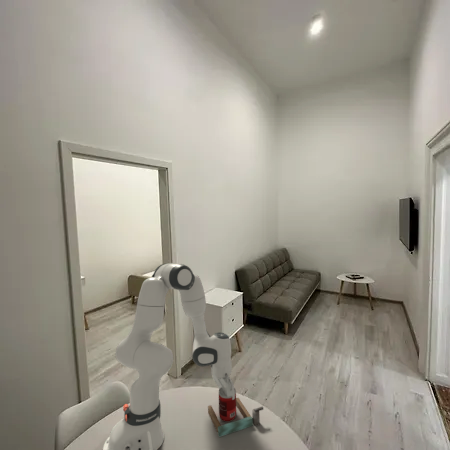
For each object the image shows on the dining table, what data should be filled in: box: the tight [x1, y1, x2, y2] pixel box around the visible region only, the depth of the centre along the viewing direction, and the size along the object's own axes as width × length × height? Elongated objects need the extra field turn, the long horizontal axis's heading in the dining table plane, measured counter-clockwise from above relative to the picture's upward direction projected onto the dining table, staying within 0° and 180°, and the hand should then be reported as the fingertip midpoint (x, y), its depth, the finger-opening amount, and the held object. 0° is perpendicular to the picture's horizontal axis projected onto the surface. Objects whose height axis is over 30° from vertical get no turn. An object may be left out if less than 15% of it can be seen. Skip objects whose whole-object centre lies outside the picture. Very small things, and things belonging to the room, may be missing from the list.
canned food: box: [218, 387, 237, 423], centre depth 114 cm, size 8×8×11 cm
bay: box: [207, 397, 264, 438], centre depth 113 cm, size 20×15×6 cm
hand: (223, 398), depth 120 cm, fingers closed
